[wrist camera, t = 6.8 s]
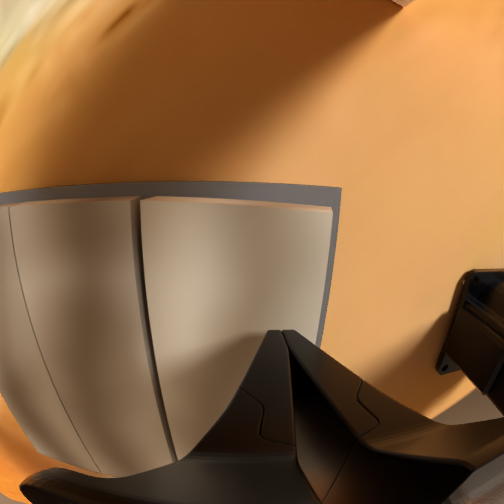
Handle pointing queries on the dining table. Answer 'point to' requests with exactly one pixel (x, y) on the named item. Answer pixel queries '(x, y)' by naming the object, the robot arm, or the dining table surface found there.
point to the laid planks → (81, 334)
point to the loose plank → (225, 294)
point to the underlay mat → (206, 190)
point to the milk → (403, 2)
